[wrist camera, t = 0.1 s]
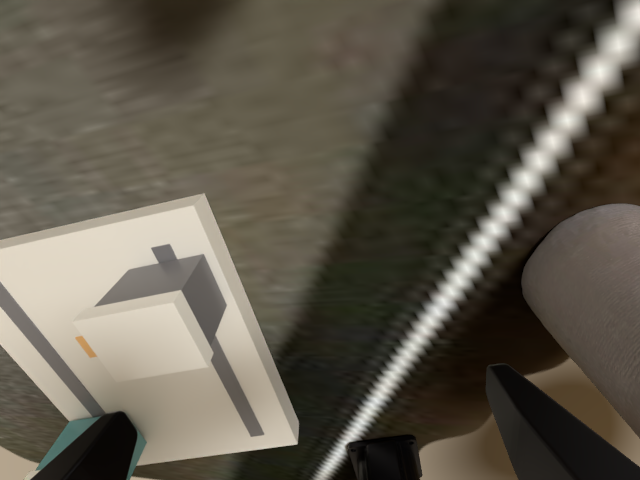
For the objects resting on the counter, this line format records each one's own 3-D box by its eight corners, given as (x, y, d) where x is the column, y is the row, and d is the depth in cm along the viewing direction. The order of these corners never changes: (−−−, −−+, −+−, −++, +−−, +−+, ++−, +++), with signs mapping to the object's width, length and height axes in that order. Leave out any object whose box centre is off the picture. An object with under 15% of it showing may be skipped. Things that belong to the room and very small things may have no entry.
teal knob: (150, 443, 30) (119, 510, 25) (94, 451, 30) (54, 518, 26) (125, 410, 28) (87, 477, 23) (66, 419, 28) (18, 486, 24)
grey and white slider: (230, 307, 23) (208, 367, 18) (155, 321, 23) (116, 382, 19) (205, 250, 21) (173, 302, 16) (124, 267, 21) (72, 321, 17)
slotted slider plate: (299, 422, 32) (297, 445, 30) (122, 447, 34) (111, 470, 32) (204, 193, 21) (192, 205, 20) (-42, 249, 24) (-73, 265, 22)
